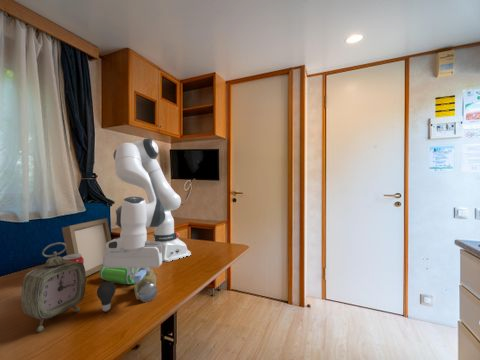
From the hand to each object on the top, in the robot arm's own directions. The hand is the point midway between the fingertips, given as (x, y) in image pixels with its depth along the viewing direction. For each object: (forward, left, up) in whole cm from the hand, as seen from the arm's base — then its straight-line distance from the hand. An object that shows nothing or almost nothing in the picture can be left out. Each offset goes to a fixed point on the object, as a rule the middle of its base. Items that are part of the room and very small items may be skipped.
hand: (133, 278), depth 82 cm
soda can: (+20, -22, -9) cm, 31 cm away
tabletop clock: (+23, -4, -9) cm, 25 cm away
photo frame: (+16, -46, -9) cm, 49 cm away
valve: (-5, -6, -9) cm, 12 cm away
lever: (-3, -3, -1) cm, 4 cm away
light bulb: (+8, 0, -9) cm, 13 cm away
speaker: (+3, -23, -10) cm, 25 cm away
